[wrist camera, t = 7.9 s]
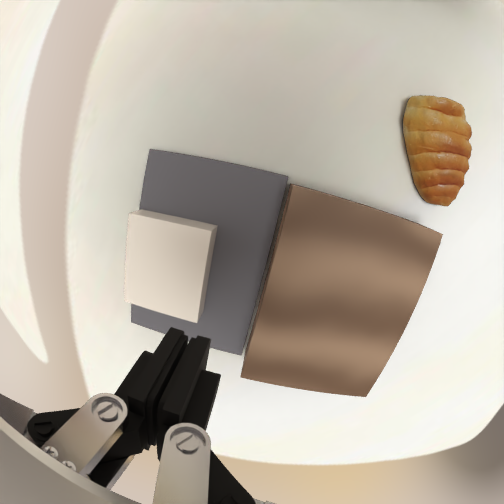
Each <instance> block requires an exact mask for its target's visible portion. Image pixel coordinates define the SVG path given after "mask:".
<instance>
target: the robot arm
mask: <svg viewBox="0 0 504 504" xmlns="http://www.w3.org/2000/svg"><path fill="white" fill-rule="evenodd" d="M210 343H211V339H210V338H206V337H203V336H199V335H198V336H197V337H196V338H194V337H191V339H190V341H189V343H188V336H187V335H184V331H183V330H179V329H176V328H173V327H171V328H170V329H169V330H168V332H167V333H166V335H165V336H164V338H163V340H162V341H161V343H160V344H159V346H158V347H157V349H156V350H155V352H154V353H150V352H148V351H144V352H143V353H142V354H141V356H140V357H139V359H138V360H137V361H136V363H135V364H134V366H133V367H132V369H131V370H130V372H129V373H128V375H127V376H126V378H125V379H124V381H123V382H122V384H121V385H120V387H119V388H118V390H117V391H116V393H115V394H110V393H100V394H97V395H95V396H93V397H92V398H90V399H89V400H88V401H87V402H86V403H85V405H83V406H82V407H81V408H77V409H70V410H62V411H54V412H45V413H39V414H37V413H35V412H34V410H33V409H30V408H28V407H26V406H24V405H22V404H19V403H17V402H15V401H13V400H11V399H10V398H8V397H6V396H4V395H2V394H0V504H141V503H138V502H135V501H133V500H131V499H128V498H126V497H124V496H121V495H119V494H117V493H115V492H113V491H110V490H111V488H112V487H113V486H114V484H115V483H116V481H117V480H118V479H119V477H120V476H121V475H122V473H123V472H124V471H125V469H126V468H127V466H128V465H129V464H130V462H131V461H132V460H133V458H134V456H135V454H139V453H142V451H143V449H146V450H149V448H150V446H151V445H153V446H155V445H156V444H157V454H158V459H159V461H160V465H159V470H158V475H157V482H156V487H155V493H154V499H153V504H275V503H272V502H268V501H266V502H263V501H260V500H257V499H254V498H252V496H251V495H250V494H249V493H248V492H247V491H246V490H245V489H244V488H243V487H242V486H241V485H240V483H239V482H238V481H237V480H236V479H235V478H234V477H233V476H232V474H231V473H230V472H229V471H228V470H227V469H226V467H225V466H224V465H223V464H222V463H221V461H220V460H219V459H218V458H217V456H216V455H215V454H214V453H213V451H212V450H211V441H210V437H209V435H208V433H207V432H206V428H207V425H208V421H209V418H210V415H211V411H212V408H213V404H214V401H215V397H216V393H217V390H218V386H219V381H220V377H221V375H220V374H217V373H213V372H209V371H206V365H207V359H208V354H209V349H210ZM187 344H188V345H187Z"/></svg>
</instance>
